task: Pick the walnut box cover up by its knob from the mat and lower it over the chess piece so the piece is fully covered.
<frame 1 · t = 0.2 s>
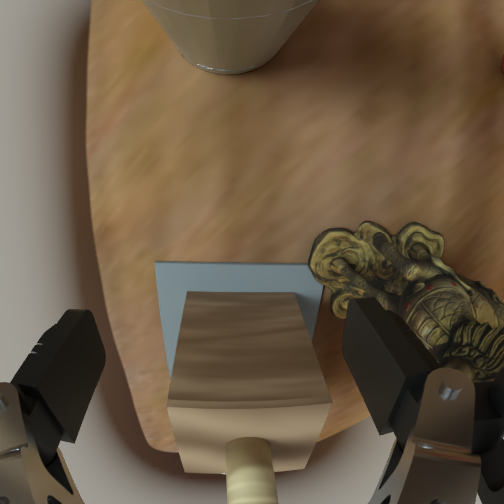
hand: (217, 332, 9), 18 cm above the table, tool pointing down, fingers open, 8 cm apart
cover: (239, 333, 31), resting on mat
figurine: (405, 280, 31), on the table, touching mat
mat: (239, 331, 31), on the table
onion: (501, 69, 21), on the table
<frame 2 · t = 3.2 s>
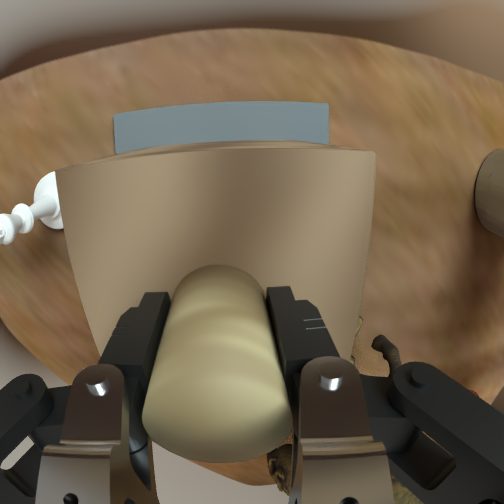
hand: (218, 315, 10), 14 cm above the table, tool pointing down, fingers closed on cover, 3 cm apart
cover: (223, 209, 23), resting on mat, touching gripper
figurine: (292, 376, 30), on the table, touching mat
mat: (223, 208, 23), on the table
chess piece: (59, 199, 22), on the table
when the fingers open (16 cm above the table, at t = 9.3 s): cover drops 2 cm, on the table.
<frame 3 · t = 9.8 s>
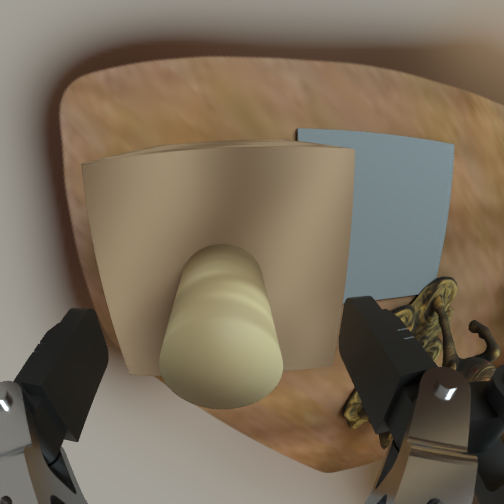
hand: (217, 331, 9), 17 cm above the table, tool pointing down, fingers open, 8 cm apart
cover: (224, 204, 25), on the table
figurine: (397, 361, 33), on the table, touching mat
mat: (380, 222, 26), on the table
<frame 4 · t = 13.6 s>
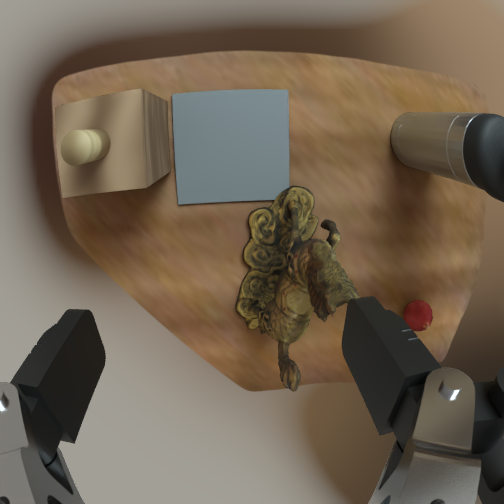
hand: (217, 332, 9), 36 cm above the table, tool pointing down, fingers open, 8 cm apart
cover: (134, 140, 39), on the table
figurine: (274, 262, 48), on the table, touching mat
mat: (231, 145, 41), on the table
onion: (408, 305, 54), on the table
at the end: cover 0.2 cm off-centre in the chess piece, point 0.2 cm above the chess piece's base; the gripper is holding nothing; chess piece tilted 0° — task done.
